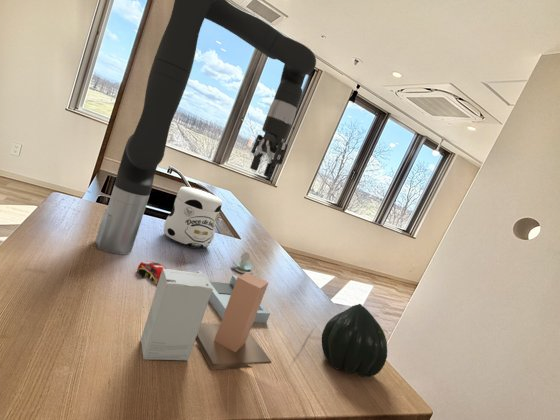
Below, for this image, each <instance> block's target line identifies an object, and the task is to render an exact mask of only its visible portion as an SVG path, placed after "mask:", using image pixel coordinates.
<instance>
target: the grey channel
mask: <svg viewBox="0 0 560 420" xmlns="http://www.w3.org/2000/svg"><path fill="white" fill-rule="evenodd" d="M196 273H202V274H204V273H203V271H200V270H198V271H197V272H196ZM237 277H238V276H237V275H232V276H231V278H230V281H229V282H223V281H211V280H209V279H208V281H209V283H210V285H211V287H212V288H213V291H212V293H211V296H210V299H209V302H210V304H211V306H212V307H213V308H214V310H215V311H216V313H217V314H218V315H219V317H220V318H221V319H222V318H223V315H224V312H225V310H226V307H227V304H228V302H229V299H230V296H231V293H232V291H233V288H234V285H235V283H236V280H237ZM270 315H271V313H270V311H269V310H268V309H266V308H265V306H264V305H263V303H261V304H260V306H259V309H258V311H257V314H256V317H255V319H254V322H253V323H260V324H261V323H263V324H264V323H265V324H267V323H268V320H269V318H270Z"/></svg>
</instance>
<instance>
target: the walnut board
mask: <svg viewBox="0 0 560 420" xmlns="http://www.w3.org/2000/svg"><path fill="white" fill-rule="evenodd" d="M219 326H220V323H207V322H206V323H203V322H201V325H200V328H199V330H198V333H197V336H196V339H195V342H196V343H197V346H198V348H199V349H200V351H201V353H202V354H203V356H204V358H205V360H206V362H207V365H208V366H209V368H210V370H213V371H214V370H229V369H231V370H232V369H247V368H248V369H251V368H253V367H252V366H250V365H248V364H262V363H263V364H267V363H268V364H270V363H272V360H271V359H270V357H269V356H268V355H267V353H266V352H265V351H264V349H263V348H262V347H261V345H260V344H259V343H258V341H256V339H255V338H254V336H253V335H252V334H251V331H250V332H249V335H248V337H247V340H246V343H245V344H244V345H243V346H242V347H241V348H240V349H239V350H238V351H237V352H236V353H235V352H234V351H232V350H230V349H228V348H226V347H225V346H223V345H221V344H219V343H218V342H216V341H214V339H215V336H216V334H217V331H218V328H219Z"/></svg>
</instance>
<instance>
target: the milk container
mask: <svg viewBox="0 0 560 420" xmlns="http://www.w3.org/2000/svg"><path fill="white" fill-rule="evenodd" d="M222 206H223V199H221V198H220V197H218V196H216V195H215V194H212V193H209V192H207V191H204V190H202V189H197V188H194V187H190V186H180V188H179V190H178V192H177V194H176V197H175V199H174V203H173V206H172V208H171V209H172V210H171V211H170V213H169V215H168V216H167V217H166V219H165V221H164V225H163V233H164V235H165V236H166V238H167V239H169V240H170V241H172V242H174V243H176V244H178V245H181V246H184V247H188V248H192V249H204V248H207V247H209V246H210V244H212V241H213V240H214V237H215V231H216V230H215V229H216V225H217V224H216V223H217V220H218V217H219V215H220V211H221V210H222Z"/></svg>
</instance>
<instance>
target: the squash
mask: <svg viewBox="0 0 560 420" xmlns="http://www.w3.org/2000/svg"><path fill="white" fill-rule="evenodd" d="M321 347H322V352H323V355H324V357H325V358H326V359H327V361H329V362H330V364H331V366H332V367H333V368H335V369H337V370H344V371H346V372H347V373H349V374H353V373H356V374H357V375H359V376H361V377H364V378H365V377H366V378H370V377H374V376H376V375H378V374H379V373H380V372H381V371H382V369H383V368H384V366H385V364H386V361H387V358H388V342H387V338H386V334H385V332H384V329H383V328H382V327H381V325H380V323H379V322H378V321H377V320H376V319H375V317H374V316H373V314H371V312H370V311H369V310H368V309H367V308H366V307H365V306H363V305H362V304H361V303H358V304H354V305H352V306H350V307H349V308H347V309H345V310H343V311H341V312H339V313H337V314H336V315H334V316H333V317H331V319H329V320H328V322H327V323H326V324H325V326H324V327H323V330H322V334H321Z"/></svg>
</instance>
